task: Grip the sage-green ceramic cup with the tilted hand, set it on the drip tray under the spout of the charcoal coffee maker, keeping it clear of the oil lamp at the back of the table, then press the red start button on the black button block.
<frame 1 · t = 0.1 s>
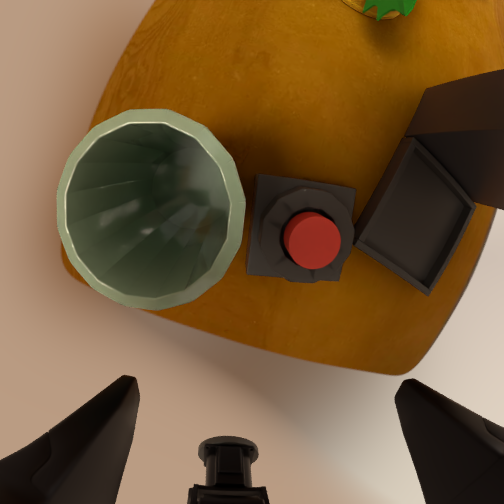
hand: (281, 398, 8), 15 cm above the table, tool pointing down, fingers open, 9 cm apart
cup: (192, 187, 20), on the table
button block: (296, 225, 21), on the table
start button: (311, 239, 17), point 4 cm above the table, slide at 0.1 cm
coffee maker: (415, 218, 21), on the table
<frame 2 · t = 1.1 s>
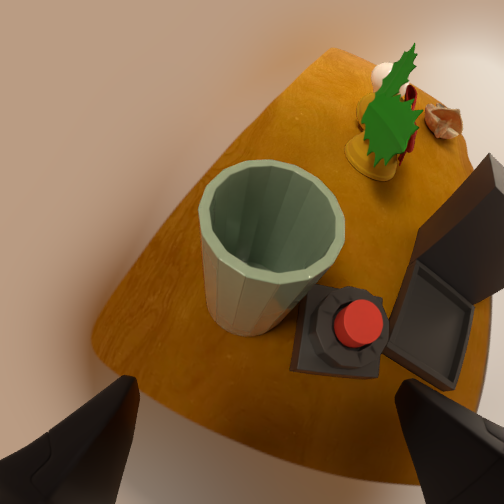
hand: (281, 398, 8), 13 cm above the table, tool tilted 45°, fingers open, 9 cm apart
cup: (246, 296, 23), on the table
ornament: (372, 162, 34), on the table
oil lamp: (435, 129, 44), on the table
button block: (334, 336, 22), on the table
lightbulb: (373, 116, 40), on the table
start button: (358, 324, 18), point 4 cm above the table, slide at 0.1 cm
coffee maker: (428, 329, 23), on the table
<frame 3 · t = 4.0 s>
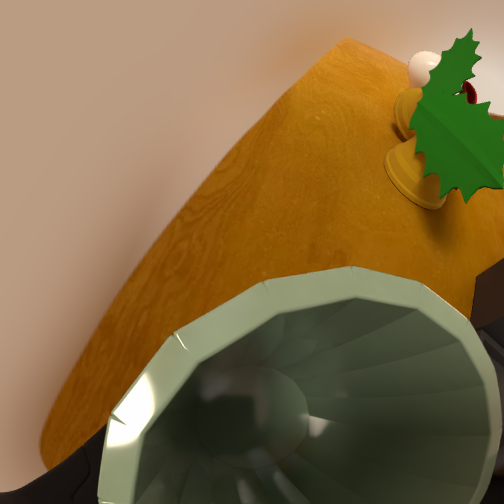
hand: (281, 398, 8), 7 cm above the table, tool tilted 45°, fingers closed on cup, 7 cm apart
cup: (252, 417, 13), on the table, touching gripper
ornament: (418, 182, 24), on the table
lightbulb: (407, 118, 30), on the table
coffee maker: (481, 412, 13), on the table
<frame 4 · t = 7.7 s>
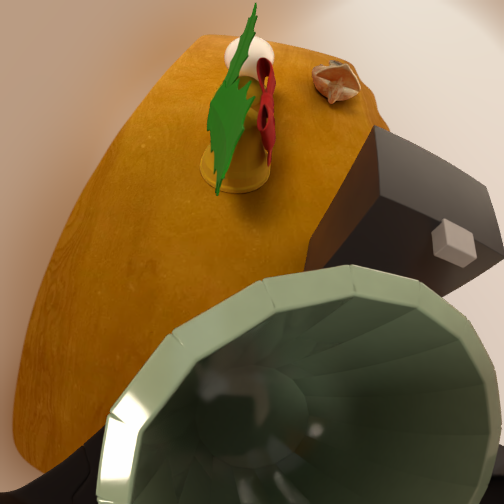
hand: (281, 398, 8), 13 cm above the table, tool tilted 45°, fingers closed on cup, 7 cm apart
cup: (251, 417, 13), point 7 cm above the table, touching gripper
ornament: (238, 169, 30), on the table
oil lamp: (331, 92, 42), on the table
lightbulb: (243, 104, 36), on the table
coffee maker: (339, 369, 21), on the table
when the fingers open (7 cm above the table, at t = 11.8 s): cup stays where it is, resting on coffee maker.
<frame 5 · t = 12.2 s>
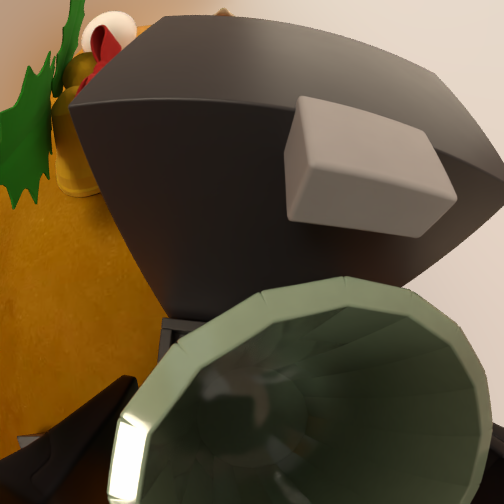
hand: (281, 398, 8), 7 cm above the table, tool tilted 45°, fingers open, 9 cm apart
cup: (252, 417, 13), point 1 cm above the table, touching coffee maker
ornament: (98, 165, 21), on the table
lightbulb: (118, 91, 27), on the table
coffee maker: (250, 416, 14), on the table
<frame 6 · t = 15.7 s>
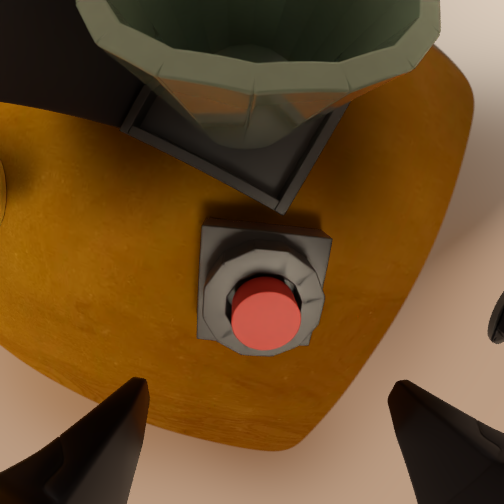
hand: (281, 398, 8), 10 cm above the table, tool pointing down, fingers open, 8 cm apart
cup: (246, 92, 14), point 1 cm above the table, touching coffee maker
button block: (258, 278, 17), on the table
start button: (264, 313, 13), point 4 cm above the table, slide at 0.1 cm
coffee maker: (246, 94, 14), on the table
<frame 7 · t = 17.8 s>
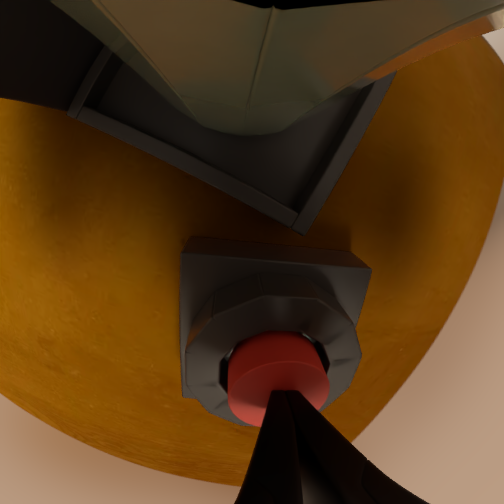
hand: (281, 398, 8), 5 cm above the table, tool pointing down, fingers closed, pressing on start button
cup: (247, 55, 9), point 1 cm above the table, touching coffee maker
button block: (263, 317, 13), on the table
start button: (276, 380, 8), point 4 cm above the table, slide at -0.1 cm, touching gripper
coffee maker: (247, 61, 9), on the table
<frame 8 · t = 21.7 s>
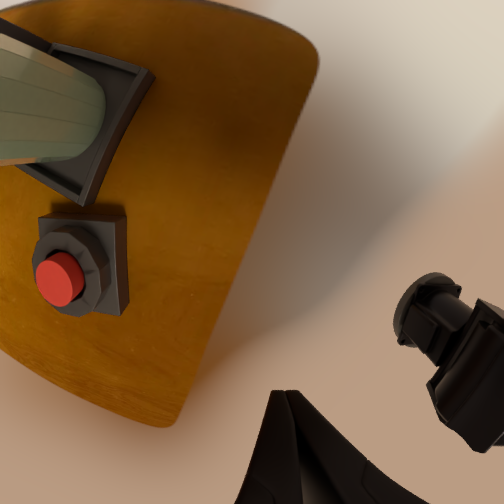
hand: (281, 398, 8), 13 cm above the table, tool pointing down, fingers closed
cup: (68, 116, 15), point 1 cm above the table, touching coffee maker
button block: (88, 257, 19), on the table
start button: (59, 279, 15), point 4 cm above the table, slide at 0.1 cm
coffee maker: (72, 117, 16), on the table
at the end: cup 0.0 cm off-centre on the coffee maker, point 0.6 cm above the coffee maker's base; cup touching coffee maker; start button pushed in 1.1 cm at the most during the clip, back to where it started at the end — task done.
